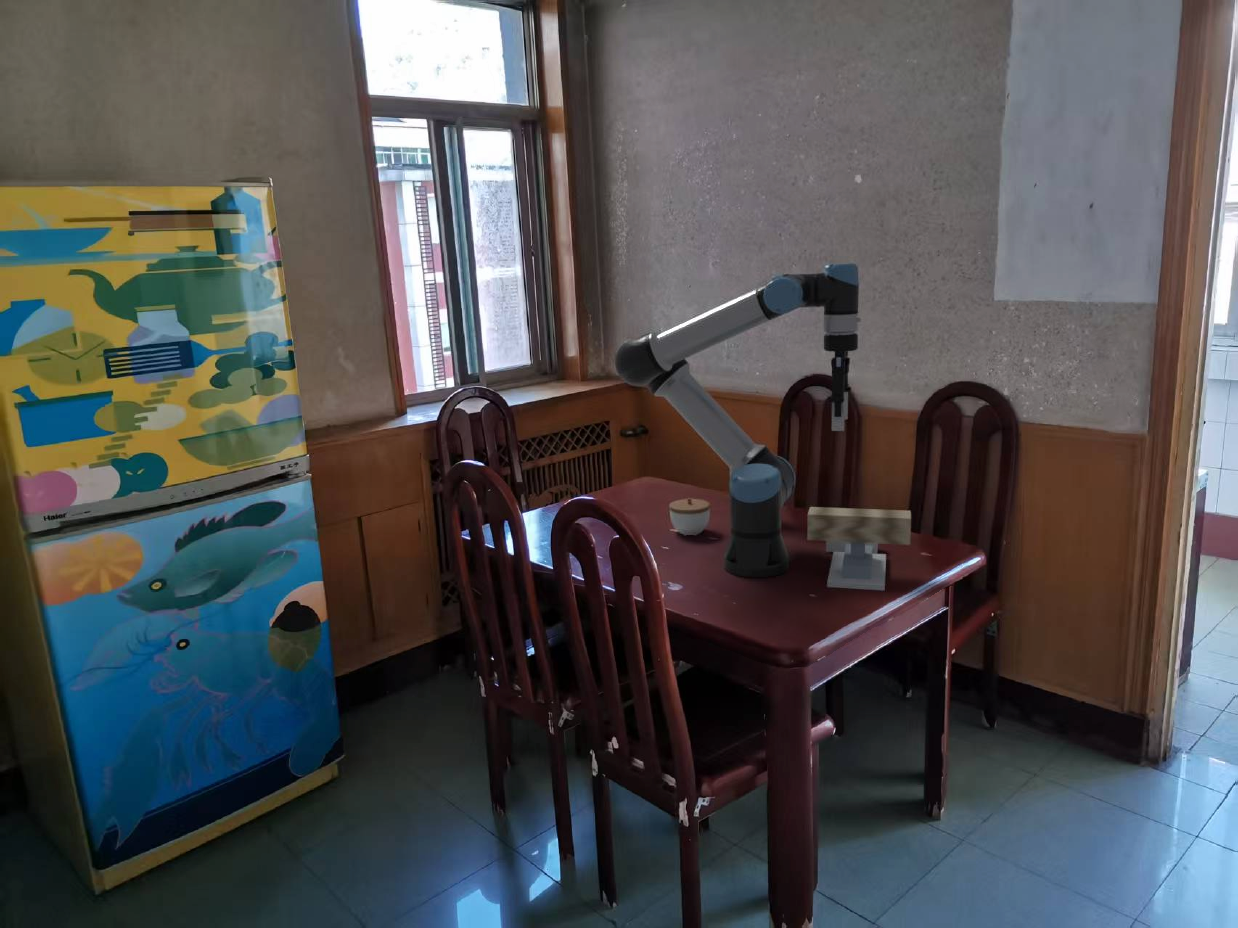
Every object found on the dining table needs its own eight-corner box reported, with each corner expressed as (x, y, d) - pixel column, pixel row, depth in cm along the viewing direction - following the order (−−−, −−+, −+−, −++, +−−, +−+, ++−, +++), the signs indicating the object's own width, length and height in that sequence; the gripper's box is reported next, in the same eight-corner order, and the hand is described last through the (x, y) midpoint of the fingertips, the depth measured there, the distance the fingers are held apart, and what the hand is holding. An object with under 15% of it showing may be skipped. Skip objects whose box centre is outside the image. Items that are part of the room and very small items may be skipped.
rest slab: (826, 551, 214) (826, 540, 213) (827, 546, 217) (827, 534, 217) (877, 554, 210) (877, 542, 209) (877, 549, 214) (878, 537, 213)
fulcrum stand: (827, 586, 192) (827, 551, 190) (833, 556, 210) (833, 523, 208) (884, 590, 188) (885, 554, 186) (885, 559, 207) (886, 525, 205)
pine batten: (807, 539, 198) (807, 514, 196) (809, 531, 203) (810, 506, 202) (910, 544, 191) (911, 518, 190) (909, 536, 197) (910, 510, 195)
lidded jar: (709, 538, 228) (708, 504, 225) (668, 538, 229) (667, 504, 227) (711, 526, 238) (710, 492, 236) (672, 526, 240) (671, 492, 237)
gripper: (855, 338, 187) (853, 435, 192) (860, 327, 210) (859, 414, 215) (819, 339, 189) (818, 435, 194) (828, 328, 212) (827, 414, 217)
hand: (839, 424), depth 204 cm, fingers open, 13 cm apart
